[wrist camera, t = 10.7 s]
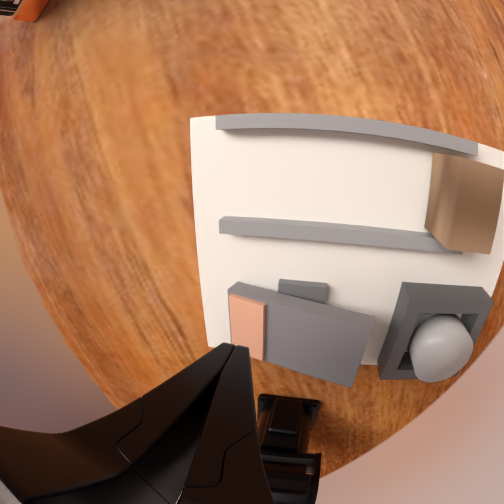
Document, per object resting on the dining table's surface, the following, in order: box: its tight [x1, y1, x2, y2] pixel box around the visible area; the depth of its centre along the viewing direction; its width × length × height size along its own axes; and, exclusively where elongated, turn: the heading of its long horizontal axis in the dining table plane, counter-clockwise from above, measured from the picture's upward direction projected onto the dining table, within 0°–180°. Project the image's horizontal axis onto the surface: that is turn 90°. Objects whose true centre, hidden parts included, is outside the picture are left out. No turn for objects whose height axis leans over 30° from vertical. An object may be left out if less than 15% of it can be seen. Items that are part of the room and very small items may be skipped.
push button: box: [408, 314, 473, 383], centre depth 14 cm, size 4×4×2 cm
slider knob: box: [424, 153, 504, 255], centre depth 11 cm, size 4×3×4 cm
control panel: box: [190, 113, 504, 379], centre depth 16 cm, size 17×22×4 cm
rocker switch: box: [227, 281, 375, 388], centre depth 16 cm, size 5×9×2 cm, turn 91°
